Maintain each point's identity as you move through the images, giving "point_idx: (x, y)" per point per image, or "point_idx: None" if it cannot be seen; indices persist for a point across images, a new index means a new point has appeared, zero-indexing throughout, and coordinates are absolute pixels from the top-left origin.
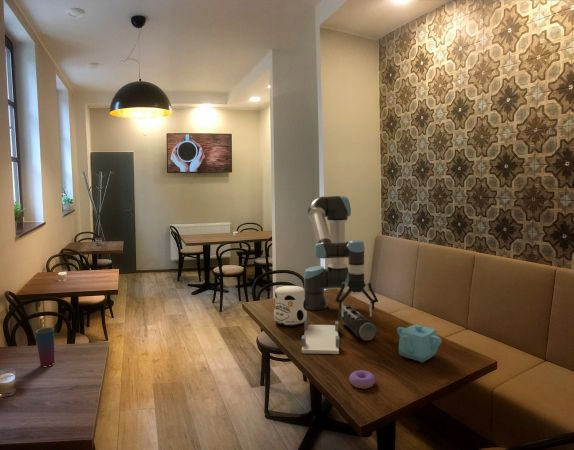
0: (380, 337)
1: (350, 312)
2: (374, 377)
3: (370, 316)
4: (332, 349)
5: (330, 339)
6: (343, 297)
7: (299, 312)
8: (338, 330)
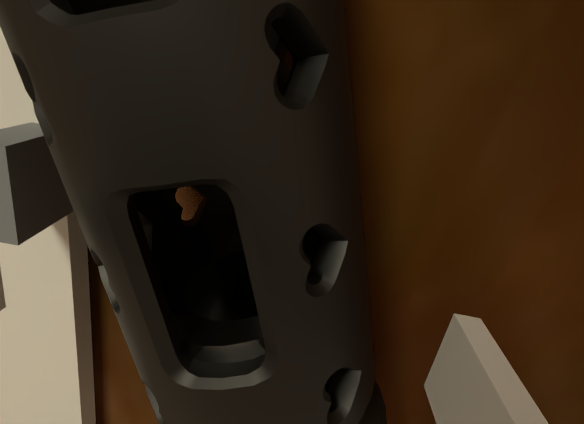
0: (438, 324)
1: (104, 229)
2: None
3: (427, 393)
4: None
5: (19, 370)
6: None
7: None
8: (70, 213)
